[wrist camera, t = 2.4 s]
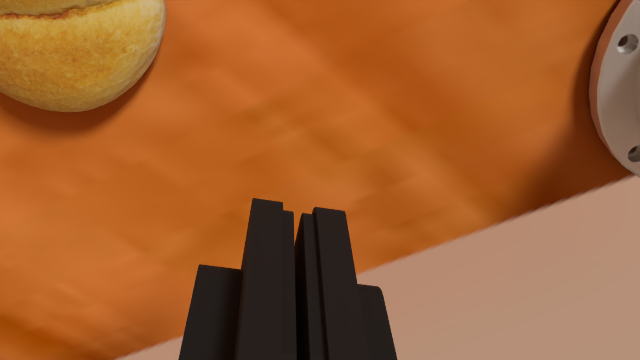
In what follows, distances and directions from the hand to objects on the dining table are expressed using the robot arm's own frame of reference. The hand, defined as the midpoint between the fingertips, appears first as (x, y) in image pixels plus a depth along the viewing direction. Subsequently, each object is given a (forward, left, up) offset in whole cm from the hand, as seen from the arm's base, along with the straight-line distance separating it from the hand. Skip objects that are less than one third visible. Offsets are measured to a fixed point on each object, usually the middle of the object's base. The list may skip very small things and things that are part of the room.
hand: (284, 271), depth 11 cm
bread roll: (+9, 0, -17) cm, 19 cm away
